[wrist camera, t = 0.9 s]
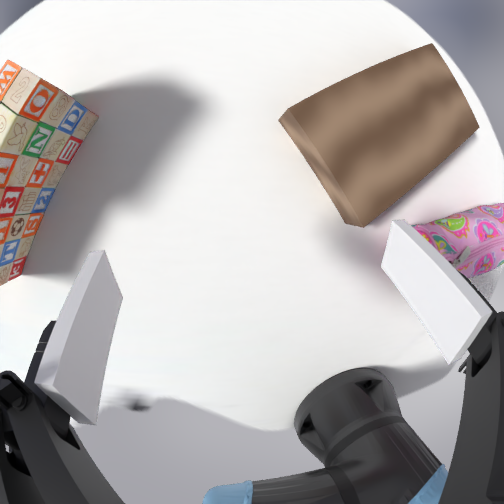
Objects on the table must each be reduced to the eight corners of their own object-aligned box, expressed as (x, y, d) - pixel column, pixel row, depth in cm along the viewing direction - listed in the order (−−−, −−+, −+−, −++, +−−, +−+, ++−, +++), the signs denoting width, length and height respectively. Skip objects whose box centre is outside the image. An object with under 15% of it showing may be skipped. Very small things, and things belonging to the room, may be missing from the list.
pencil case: (389, 292, 32) (435, 318, 23) (385, 219, 30) (437, 228, 21) (484, 255, 33) (524, 268, 25) (483, 200, 32) (526, 204, 23)
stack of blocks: (22, 276, 25) (-41, 310, 13) (-5, 249, 24) (-69, 271, 12) (100, 116, 24) (40, 76, 12) (66, 95, 22) (6, 57, 10)
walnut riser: (460, 130, 29) (479, 127, 25) (345, 223, 29) (363, 227, 25) (415, 52, 26) (432, 43, 22) (278, 120, 26) (287, 108, 22)
